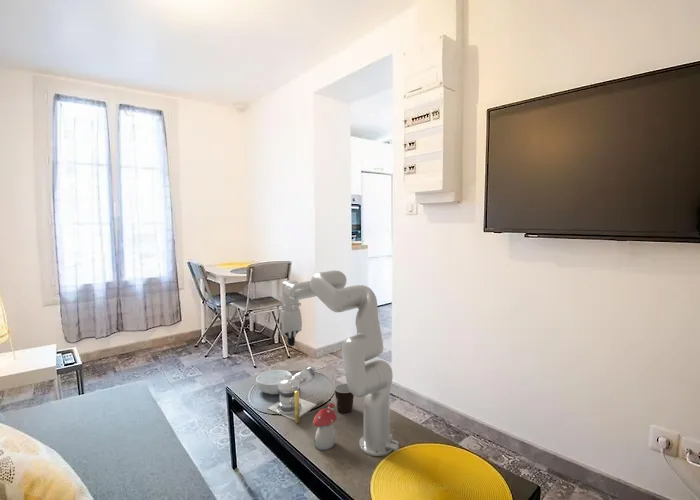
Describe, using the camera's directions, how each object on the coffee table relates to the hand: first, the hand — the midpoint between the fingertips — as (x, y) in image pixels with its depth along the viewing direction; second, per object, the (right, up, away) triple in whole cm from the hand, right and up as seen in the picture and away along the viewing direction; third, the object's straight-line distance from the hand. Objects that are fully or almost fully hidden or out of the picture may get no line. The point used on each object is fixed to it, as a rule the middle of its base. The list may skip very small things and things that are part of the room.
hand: (291, 344), depth 171 cm
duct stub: (+3, -25, -13) cm, 28 cm away
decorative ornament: (+18, -27, -37) cm, 50 cm away
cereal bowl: (-9, -23, +5) cm, 25 cm away
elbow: (+4, -16, -9) cm, 19 cm away
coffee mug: (+26, -25, -12) cm, 38 cm away
